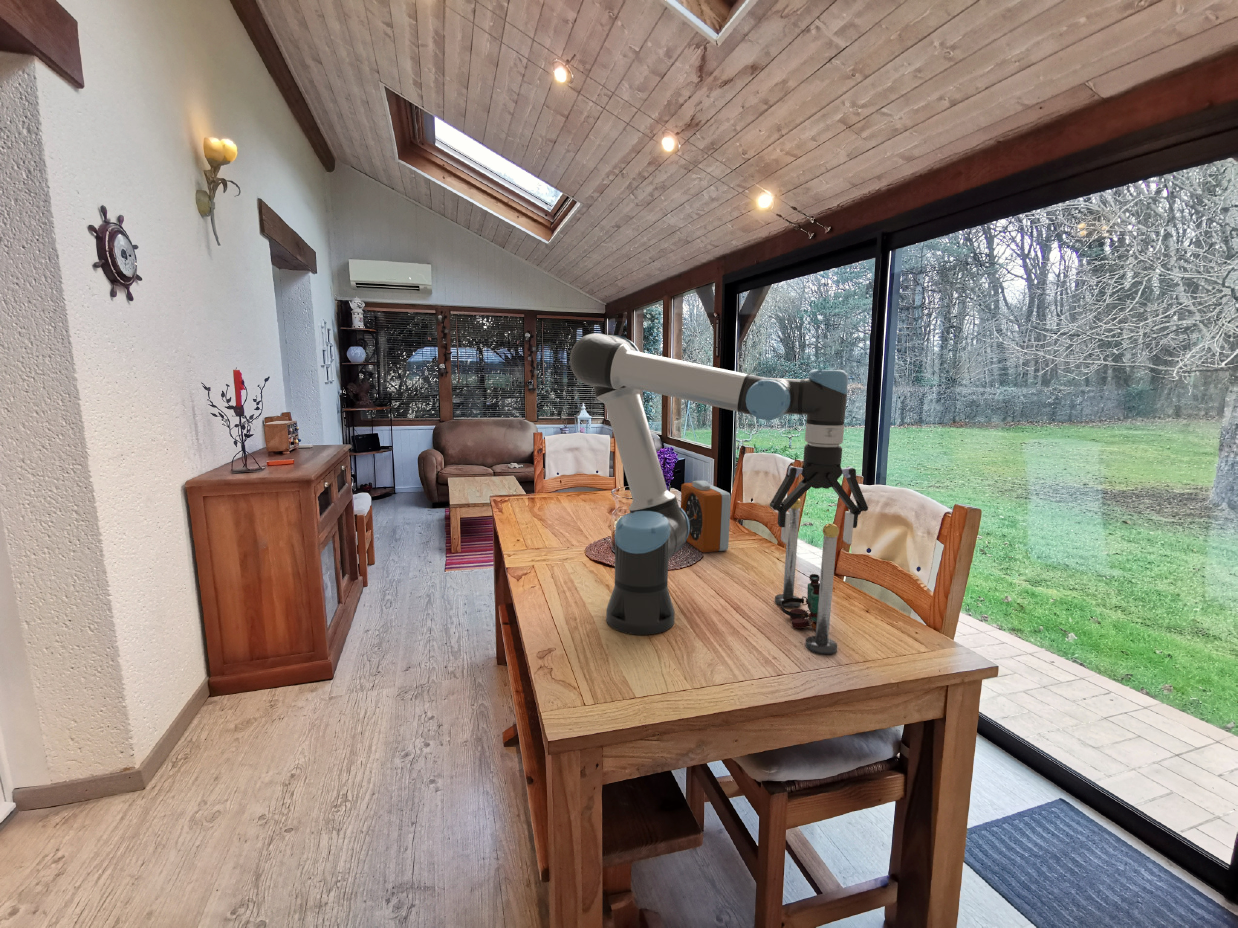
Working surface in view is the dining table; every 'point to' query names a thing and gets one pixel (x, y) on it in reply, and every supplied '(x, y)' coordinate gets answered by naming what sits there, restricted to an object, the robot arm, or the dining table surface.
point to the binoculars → (811, 600)
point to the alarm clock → (706, 515)
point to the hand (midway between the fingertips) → (815, 541)
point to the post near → (825, 595)
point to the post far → (790, 559)
